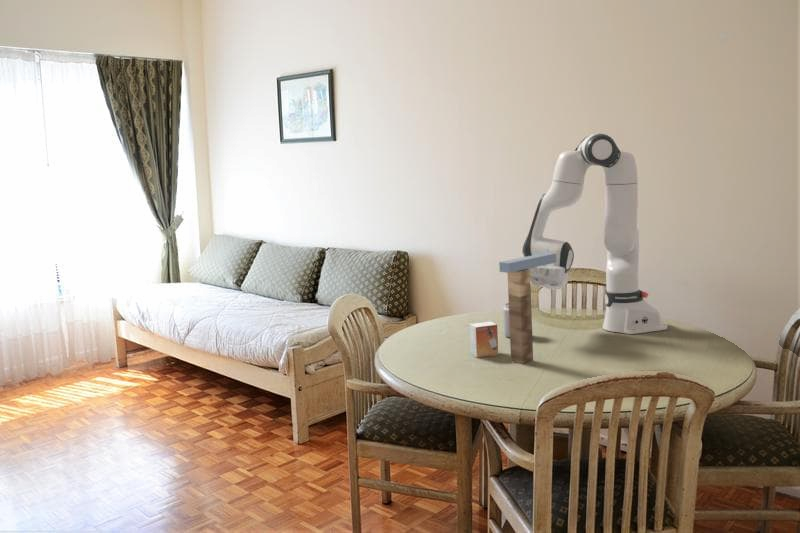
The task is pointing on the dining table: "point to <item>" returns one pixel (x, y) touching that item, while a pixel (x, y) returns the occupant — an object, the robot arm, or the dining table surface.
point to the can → (506, 320)
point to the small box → (484, 339)
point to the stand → (520, 316)
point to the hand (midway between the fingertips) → (524, 268)
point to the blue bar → (527, 262)
